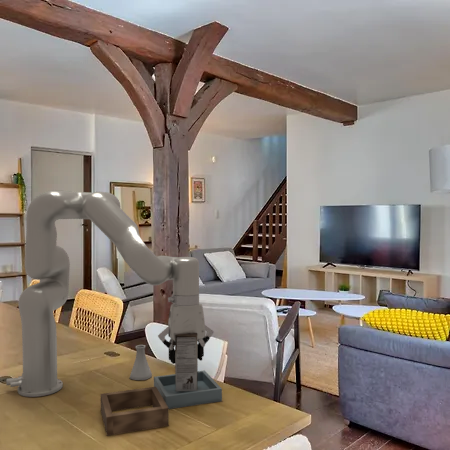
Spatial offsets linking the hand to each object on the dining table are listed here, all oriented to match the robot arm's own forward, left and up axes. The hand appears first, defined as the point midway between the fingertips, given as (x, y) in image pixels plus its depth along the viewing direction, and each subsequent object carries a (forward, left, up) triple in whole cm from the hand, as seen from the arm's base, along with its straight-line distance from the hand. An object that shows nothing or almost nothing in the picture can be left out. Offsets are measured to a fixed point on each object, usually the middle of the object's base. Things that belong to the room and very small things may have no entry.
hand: (186, 360), depth 137 cm
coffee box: (0, 0, -8) cm, 8 cm away
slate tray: (0, 0, -10) cm, 10 cm away
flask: (-10, +19, -10) cm, 24 cm away
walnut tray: (-17, -10, -10) cm, 22 cm away
